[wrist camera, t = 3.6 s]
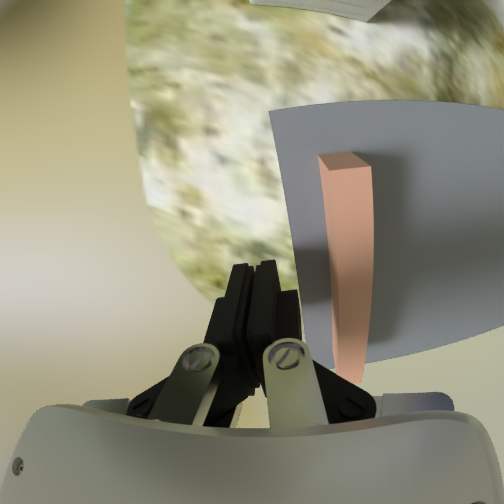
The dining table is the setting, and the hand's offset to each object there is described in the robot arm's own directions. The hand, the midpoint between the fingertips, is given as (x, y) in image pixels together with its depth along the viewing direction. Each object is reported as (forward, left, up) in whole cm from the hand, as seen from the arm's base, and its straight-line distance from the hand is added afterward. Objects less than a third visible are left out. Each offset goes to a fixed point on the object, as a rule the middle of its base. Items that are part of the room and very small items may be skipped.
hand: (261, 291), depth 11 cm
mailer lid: (-10, 0, -2) cm, 10 cm away
